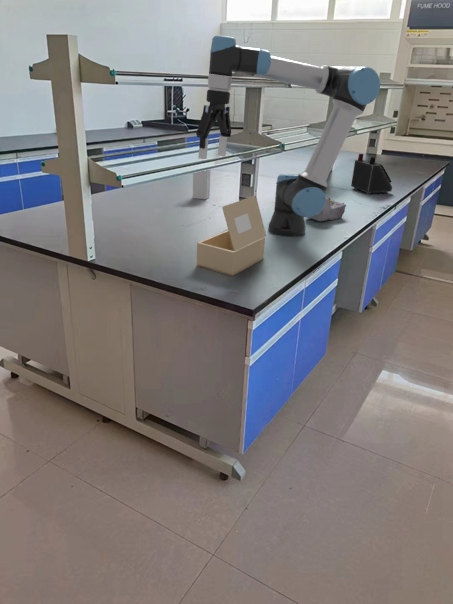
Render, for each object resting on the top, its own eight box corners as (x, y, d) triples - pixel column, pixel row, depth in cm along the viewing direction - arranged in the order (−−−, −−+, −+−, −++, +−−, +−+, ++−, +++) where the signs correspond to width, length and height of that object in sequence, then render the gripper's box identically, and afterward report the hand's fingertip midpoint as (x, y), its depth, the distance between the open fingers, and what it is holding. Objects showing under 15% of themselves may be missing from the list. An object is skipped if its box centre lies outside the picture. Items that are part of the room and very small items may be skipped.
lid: (254, 195, 162) (256, 195, 162) (265, 236, 165) (266, 236, 165) (221, 206, 147) (223, 206, 147) (234, 251, 150) (235, 251, 150)
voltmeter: (391, 193, 276) (398, 157, 268) (367, 195, 270) (373, 158, 262) (373, 187, 290) (379, 153, 281) (350, 188, 284) (356, 153, 275)
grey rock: (303, 194, 214) (325, 189, 229) (300, 218, 219) (322, 212, 233) (329, 200, 207) (350, 194, 221) (325, 225, 211) (346, 217, 226)
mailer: (229, 250, 176) (230, 229, 172) (263, 259, 169) (265, 237, 165) (196, 265, 160) (197, 242, 157) (232, 276, 154) (233, 252, 150)
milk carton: (206, 199, 242) (207, 160, 234) (192, 198, 244) (193, 159, 235) (209, 196, 249) (210, 158, 241) (196, 195, 250) (197, 157, 242)
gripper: (226, 90, 170) (219, 152, 179) (188, 86, 149) (183, 157, 158) (245, 92, 167) (237, 156, 176) (210, 89, 146) (203, 161, 155)
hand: (212, 157), depth 167 cm, fingers open, 13 cm apart
